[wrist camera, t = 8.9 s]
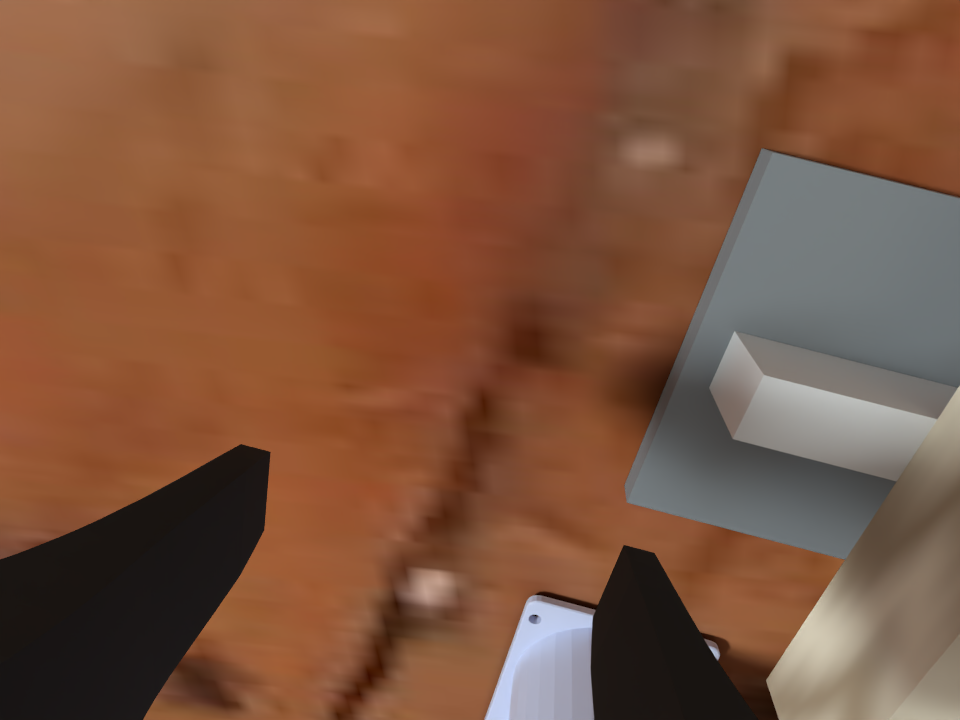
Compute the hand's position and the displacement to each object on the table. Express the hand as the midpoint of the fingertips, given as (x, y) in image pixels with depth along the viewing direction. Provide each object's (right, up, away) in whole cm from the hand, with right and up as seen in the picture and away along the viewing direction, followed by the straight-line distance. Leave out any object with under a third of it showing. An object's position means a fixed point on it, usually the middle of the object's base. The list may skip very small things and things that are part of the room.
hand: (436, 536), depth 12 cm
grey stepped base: (+14, +2, +7) cm, 16 cm away
